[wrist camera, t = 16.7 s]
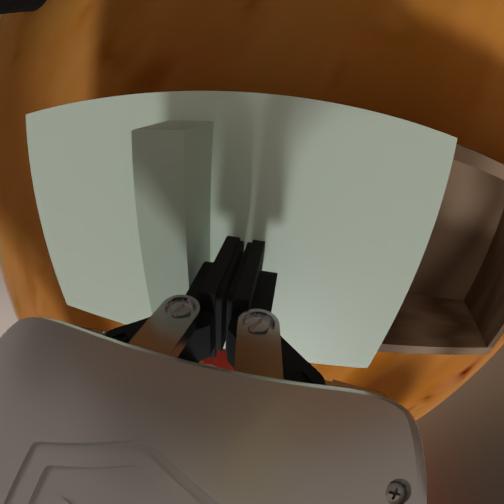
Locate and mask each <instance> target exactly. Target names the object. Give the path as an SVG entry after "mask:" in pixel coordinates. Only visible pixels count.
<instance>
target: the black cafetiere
mask: <svg viewBox="0 0 504 504" xmlns="http://www.w3.org/2000/svg"><path fill="white" fill-rule="evenodd" d="M45 1H46V0H0V14H6V13H15V12H28V11H35V10H37V9H38V8H39V7H41V6H42V5H43V4H44V2H45Z"/></svg>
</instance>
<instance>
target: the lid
mask: <svg viewBox="0 0 504 504" xmlns="http://www.w3.org/2000/svg"><path fill="white" fill-rule="evenodd" d="M26 131H27V143H28V153H29V161H30V168H31V175H32V181H33V187H34V193H35V198H36V203H37V208H38V212H39V217H40V221H41V225H42V229H43V233H44V237H45V241H46V244H47V248H48V251H49V254H50V258H51V261H52V264H53V267H54V270H55V273H56V276H57V279H58V282H59V285H60V288H61V290H62V293H63V296H64V298H65V301H66V303H67V305H69V306H72V307H75V308H78V309H80V310H83V311H86V312H89V313H92V314H95V315H98V316H101V317H104V318H107V319H110V320H113V321H117V322H120V323H123V324H126V325H127V324H130V323H133V322H136V321H139V320H142V319H145V318H148V317H151V315H152V314H153V313H154V312H155V311H156V310H157V308H158V307H159V306H160V305H161V304H162V303H163V301H165V300H166V299H167V298H169V297H171V296H174V295H186V293H187V291H188V289H189V288H190V286H191V284H192V282H193V280H194V279H195V277H196V275H197V273H198V271H199V270H200V268H201V266H202V264H203V263H204V262H205V261H208V262H214V260H215V258H216V256H217V254H218V252H219V251H220V249H221V247H222V245H223V243H224V241H225V239H226V237H227V236H234V237H240V241H244V250H245V248H246V245H247V242H251V243H252V241H253V240H260V241H265V251H264V259H263V267H262V271H268V272H275V273H278V275H277V281H276V287H275V293H274V299H273V305H272V311H271V313H273V314H274V315H275V316H276V317H277V318H278V320H279V324H280V336H282V337H283V338H284V339H285V340H286V341H287V342H288V343H289V344H290V345H291V346H292V347H293V348H294V349H295V350H296V351H297V352H298V353H299V354H300V355H301V356H302V357H303V358H304V359H305V360H306V361H308V362H309V363H317V364H326V365H336V366H347V367H360V368H368V366H369V364H370V363H371V361H372V359H373V358H374V356H375V354H376V352H377V351H378V349H379V347H380V345H381V344H382V342H383V340H384V338H385V336H386V334H387V333H388V331H389V329H390V327H391V325H392V323H393V321H394V319H395V317H396V315H397V313H398V311H399V309H400V307H401V305H402V303H403V301H404V299H405V297H406V294H407V292H408V290H409V288H410V286H411V283H412V281H413V279H414V277H415V274H416V272H417V269H418V267H419V265H420V262H421V260H422V257H423V255H424V252H425V249H426V247H427V244H428V241H429V239H430V236H431V233H432V230H433V227H434V225H435V222H436V219H437V216H438V212H439V209H440V206H441V203H442V199H443V196H444V193H445V189H446V185H447V182H448V178H449V174H450V170H451V166H452V162H453V157H454V153H455V148H456V143H457V138H456V137H454V136H451V135H448V134H446V133H443V132H440V131H437V130H435V129H432V128H429V127H426V126H423V125H420V124H417V123H413V122H410V121H407V120H404V119H400V118H397V117H393V116H389V115H386V114H382V113H378V112H374V111H370V110H366V109H361V108H357V107H352V106H347V105H342V104H337V103H332V102H326V101H320V100H314V99H307V98H300V97H293V96H284V95H275V94H265V93H252V92H234V91H170V92H153V93H140V94H130V95H121V96H113V97H105V98H99V99H92V100H86V101H81V102H76V103H70V104H66V105H61V106H56V107H52V108H48V109H44V110H40V111H36V112H32V113H29V114H26ZM225 348H226V341H225V344H224V347H223V349H225Z"/></svg>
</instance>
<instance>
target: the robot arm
mask: <svg viewBox="0 0 504 504" xmlns="http://www.w3.org/2000/svg"><path fill="white" fill-rule="evenodd" d="M264 251H265V241H260V240H253V241H252V243H251V242H247V245H246V248H245V250H244V241H240V237H234V236H227V237H226V239H225V241H224V243H223V245H222V247H221V249H220V251H219V252H218V254H217V256H216V258H215V260H214V262H208V261H205V262H204V263H203V264H202V266H201V268H200V270H199V271H198V273H197V275H196V277H195V279H194V280H193V282H192V284H191V286H190V288H189V289H188V291H187V293H186V295H174V296H171V297H169V298H167V299H166V300H165V301H163V303H162V304H161V305H160V306H159V307H158V308H157V310H156V311H155V312H154V313H153V314H152V315H151V317H148V318H145V319H142V320H139V321H136V322H133V323H130V324H127V325H124V326H121V327H118V328H115V329H112V330H110V331H108V332H107V333H105V332H104V330H99V329H91V328H83V327H78V326H75V325H72V324H69V323H66V322H63V321H59V320H55V319H50V318H43V317H31V318H25V319H21V320H19V321H18V322H16V323H15V324H14V325H12V326H11V327H10V328H9V329H8V330H7V331H6V332H5V333H4V334H3V335H2V336H1V337H0V504H426V502H427V501H426V500H427V498H426V471H425V460H424V453H423V447H422V441H421V437H420V433H419V430H418V427H417V424H416V422H415V420H414V418H413V416H412V415H411V413H410V412H409V411H408V410H407V409H406V408H405V407H403V406H402V405H400V404H398V403H396V402H395V401H393V400H390V399H389V398H388V397H387V396H386V395H385V394H383V393H380V392H377V391H373V390H370V389H366V388H362V387H358V386H355V385H351V384H347V383H344V382H340V381H337V380H334V379H333V381H332V382H330V381H327V380H324V378H323V376H322V375H321V374H320V373H319V372H318V371H317V370H316V369H315V368H314V367H313V366H312V365H311V364H310V363H309V362H308V361H306V360H305V359H304V358H303V357H302V356H301V355H300V354H299V353H298V352H297V351H296V350H295V349H294V348H293V347H292V346H291V345H290V344H289V343H288V342H287V341H286V340H285V339H284V338H283V337H282V336H280V324H279V320H278V318H277V317H276V316H275V315H274V314H273V313H271V311H272V305H273V299H274V293H275V287H276V281H277V275H278V273H275V272H268V271H262V267H263V259H264ZM225 341H226V348H225V352H226V353H227V361H228V362H229V363H230V364H231V366H232V367H233V368H234V371H232V370H227V369H222V368H217V367H213V366H208V365H204V364H203V360H204V359H206V358H209V357H212V358H215V357H216V354H217V351H220V352H222V350H223V347H224V344H225Z"/></svg>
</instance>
